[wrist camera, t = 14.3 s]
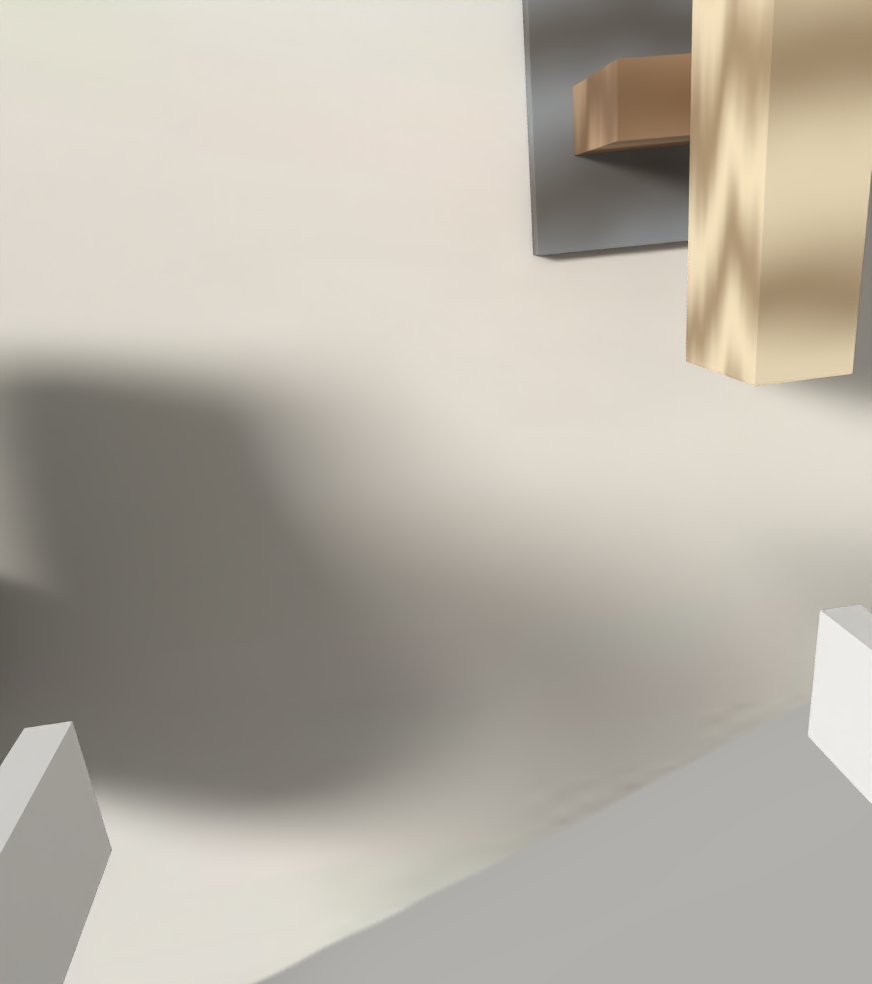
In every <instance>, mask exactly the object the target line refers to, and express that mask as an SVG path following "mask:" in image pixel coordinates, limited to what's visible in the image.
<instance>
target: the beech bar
mask: <svg viewBox="0 0 872 984" xmlns="http://www.w3.org/2000/svg"><path fill="white" fill-rule="evenodd" d="M871 172H872V0H693V8H692V62H691V117H690V172H689V226H688V281H687V336H686V361H687V362H690V363H692V364H695V365H698V366H701V367H703V368H706V369H709V370H712V371H714V372H717V373H720V374H723V375H726V376H728V377H731V378H734V379H737V380H739V381H742V382H745V383H748V384H750V385H753V386H760V385H768V384H776V383H784V382H791V381H799V380H807V379H815V378H823V377H831V376H839V375H847V374H852V372H853V361H854V351H855V340H856V330H857V319H858V309H859V298H860V288H861V277H862V267H863V256H864V246H865V235H866V225H867V214H868V204H869V193H870V183H871Z"/></svg>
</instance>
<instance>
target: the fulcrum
mask: <svg viewBox="0 0 872 984" xmlns="http://www.w3.org/2000/svg"><path fill="white" fill-rule="evenodd" d="M692 8H693V0H523V24H524V47H525V71H526V95H527V118H528V142H529V166H530V189H531V213H532V236H533V255H548V254H558V253H568V252H578V251H588V250H598V249H608V248H618V247H629V246H639V245H649V244H659V243H669V242H679V241H688V226H689V172H690V117H691V62H692Z"/></svg>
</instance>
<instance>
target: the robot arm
mask: <svg viewBox="0 0 872 984" xmlns="http://www.w3.org/2000/svg"><path fill="white" fill-rule="evenodd" d="M808 737H809V738H810V739H811V740H812V741H813V742H814V743H815V744H816V745H817V746H818V747H819V748H820V749H821V750H822V751H823V752H824V754H825V755H826V756H827V757H828V758H829V759H830V760H831V761H832V762H833V763H834V764H835V765H836V766H837V767H838V768H839V770H841V772H842V773H843V774H844V775H845V776H846V777H847V778H848V779H849V780H850V781H851V782H852V783H853V784H854V786H855V787H856V788H857V789H858V790H859V791H860V792H861V793H862V794H863V795H864V796H865V797H866V798H867V799H868V800H869V801H870V802H871V804H872V613H871V612H870V611H869V610H867V609H866V608H864V607H863V606H861V605H860V604H858V605H851V606H845V607H838V608H831V609H825V610H820V616H819V626H818V637H817V647H816V657H815V667H814V678H813V688H812V698H811V708H810V718H809V729H808ZM111 851H112V849H111V846H110V842H109V839H108V836H107V833H106V829H105V826H104V823H103V820H102V816H101V813H100V810H99V806H98V803H97V800H96V797H95V793H94V790H93V787H92V784H91V780H90V777H89V774H88V770H87V767H86V764H85V761H84V757H83V754H82V751H81V748H80V744H79V741H78V738H77V734H76V731H75V728H74V725H73V721H69V722H62V723H55V724H49V725H42V726H35V727H28V728H24V729H23V731H22V733H21V734H20V736H19V737H18V739H17V740H16V742H15V744H14V745H13V747H12V748H11V750H10V752H9V753H8V755H7V756H6V758H5V759H4V761H3V763H2V764H1V766H0V984H63V982H64V979H65V977H66V974H67V971H68V969H69V966H70V963H71V960H72V958H73V955H74V952H75V949H76V947H77V944H78V941H79V938H80V936H81V933H82V930H83V927H84V925H85V922H86V919H87V917H88V914H89V911H90V908H91V906H92V903H93V900H94V897H95V895H96V892H97V889H98V886H99V884H100V881H101V878H102V876H103V873H104V870H105V867H106V865H107V862H108V859H109V856H110V854H111Z"/></svg>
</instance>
